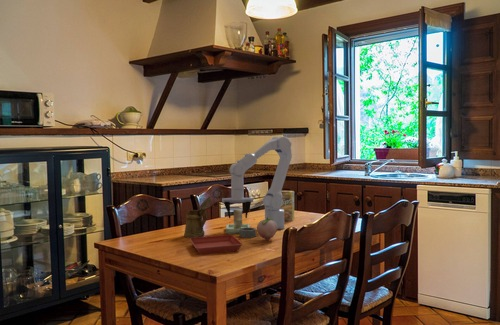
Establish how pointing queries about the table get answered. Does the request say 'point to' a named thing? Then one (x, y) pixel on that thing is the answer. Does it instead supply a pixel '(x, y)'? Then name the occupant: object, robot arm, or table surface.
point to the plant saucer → (216, 244)
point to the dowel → (237, 219)
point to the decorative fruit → (267, 228)
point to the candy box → (288, 205)
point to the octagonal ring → (247, 232)
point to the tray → (231, 229)
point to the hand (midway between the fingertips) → (237, 217)
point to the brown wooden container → (196, 221)
